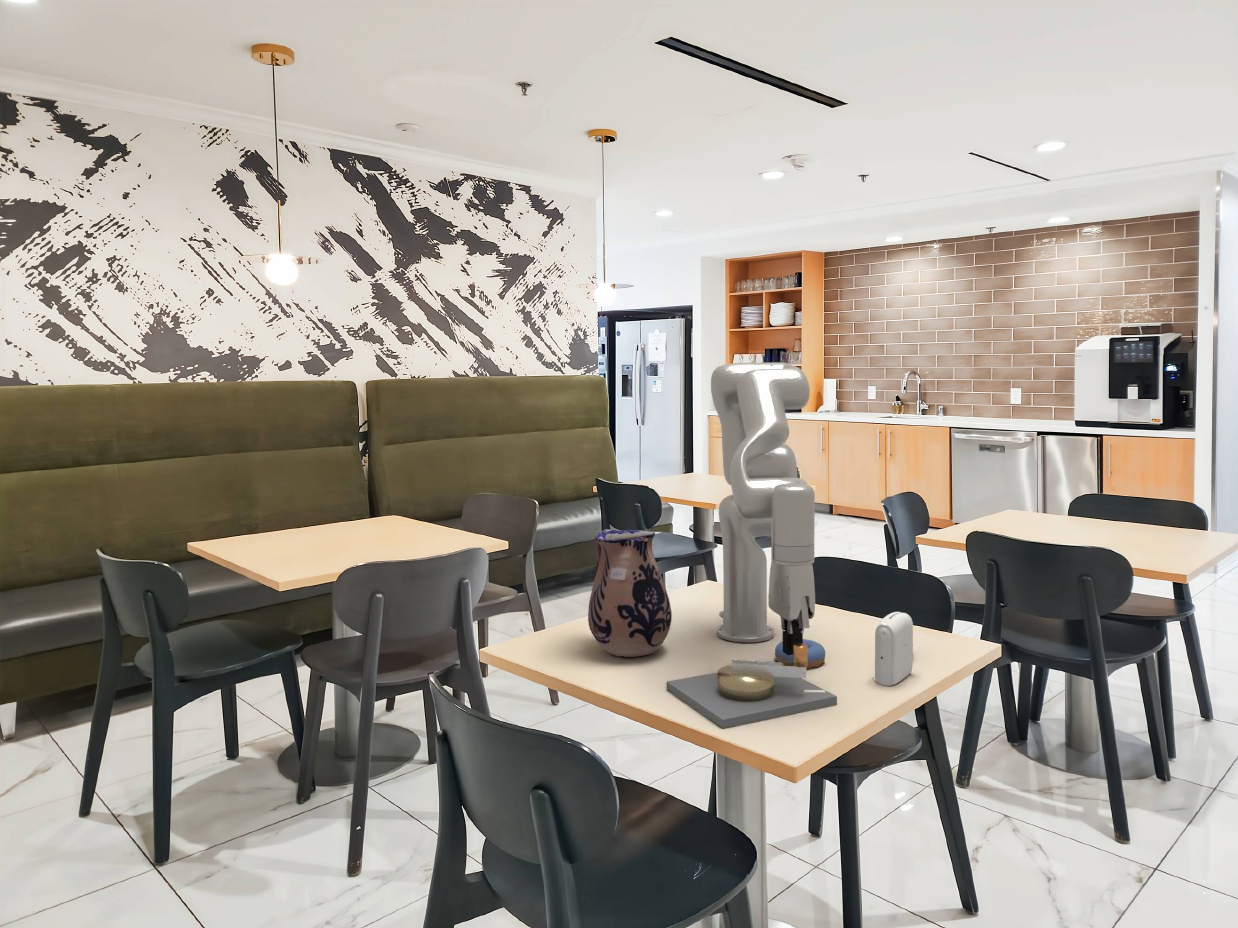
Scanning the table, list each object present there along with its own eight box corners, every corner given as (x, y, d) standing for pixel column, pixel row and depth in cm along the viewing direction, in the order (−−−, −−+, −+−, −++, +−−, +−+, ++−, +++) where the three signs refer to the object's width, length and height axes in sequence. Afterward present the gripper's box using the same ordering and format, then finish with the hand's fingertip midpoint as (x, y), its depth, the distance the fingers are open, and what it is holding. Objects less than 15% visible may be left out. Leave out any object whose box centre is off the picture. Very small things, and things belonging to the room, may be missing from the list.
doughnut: (794, 672, 165) (795, 648, 165) (764, 660, 174) (765, 637, 174) (835, 669, 170) (836, 646, 169) (804, 657, 179) (805, 635, 179)
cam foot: (714, 698, 148) (714, 650, 148) (720, 678, 158) (719, 633, 157) (807, 703, 145) (807, 654, 144) (807, 683, 155) (807, 637, 154)
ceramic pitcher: (625, 671, 168) (623, 545, 166) (562, 646, 185) (559, 532, 182) (689, 652, 179) (688, 534, 177) (624, 630, 196) (622, 522, 193)
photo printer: (893, 688, 157) (894, 621, 155) (871, 683, 159) (872, 618, 158) (915, 672, 164) (916, 609, 163) (893, 668, 167) (894, 606, 166)
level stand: (666, 689, 158) (666, 680, 158) (771, 670, 167) (771, 661, 167) (722, 728, 140) (722, 718, 140) (836, 704, 149) (837, 694, 149)
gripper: (756, 546, 159) (756, 642, 161) (791, 563, 144) (791, 668, 146) (793, 543, 161) (793, 639, 163) (832, 560, 146) (831, 664, 148)
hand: (792, 652), depth 154 cm, fingers closed
